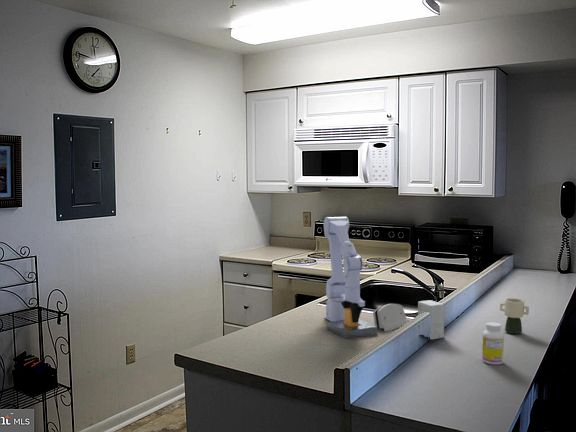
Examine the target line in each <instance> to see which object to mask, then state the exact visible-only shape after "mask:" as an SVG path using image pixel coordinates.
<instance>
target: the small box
mask: <svg viewBox="0 0 576 432" xmlns="http://www.w3.org/2000/svg"><path fill="white" fill-rule="evenodd" d="M424 312H429V313H431V317H432V318H431V333H430V339H429V340H436V339H442V338H444V336H445V334H444V333H445V304H444V303H441V302H437V301H434V300H432V299H431V300H429V299H428V300H420V301H418V302H417V316H418V315H420V314H422V313H424Z"/></svg>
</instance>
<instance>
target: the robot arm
mask: <svg viewBox="0 0 576 432" xmlns="http://www.w3.org/2000/svg"><path fill="white" fill-rule="evenodd" d="M349 228H350V219H349V218H348V217H347V216H333V217H332V216H325V218H324V221H323V232H324V233H323V234H324V237H325V238H327V239H328V244H329V245H328V246H329V256H330V268H331V277H330V278H329V279H328V280H326V284H325V285H326V287H325V295H326V297H327V298H328V299H327V301H326V303H325V304H326V305H325V316H324V319H325V320H328V321H329V322H332V321H340V320H344V308H350V309H351V312H352V321H353V323H355V322H358V320H359V319H360V316H361V313H362V311H363V310H364V308H365V307H366V301H365V300H363V299H362V298H361V295H360V294H361V271H362V269H363V264H364V262H363V258H362V256H361V255H360V254H358V253H357V250H356V248H355V245H354V242H351V241H350V238H349V233H348V232H349Z"/></svg>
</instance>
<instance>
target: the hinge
mask: <svg viewBox="0 0 576 432" xmlns="http://www.w3.org/2000/svg"><path fill="white" fill-rule="evenodd" d="M372 312H373V313H372V316H373V322H374V325H375V326H377V330H379V329H383V331H384V332H389V331H392V330H395V329H398V328H402V327H401V326H403V325H404V324H406V323H407V322H410V320H409V318H407V315H406V313H405V309H404V308H403V305H401V304H399V303H388V304H384V305H382V306H379V307H377V308H376V309H375V310H374V311H372ZM403 327H404V326H403Z"/></svg>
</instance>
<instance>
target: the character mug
mask: <svg viewBox="0 0 576 432" xmlns="http://www.w3.org/2000/svg"><path fill="white" fill-rule="evenodd" d="M503 306H504V308H503ZM499 310H500V311H501V312H504V315H505V316H506V321H505V326H504V331H505V332H507V333H510V334H520V333H522V332H523V327H522V320H521V318H523V317H524V315H527V316H528V315H529V313H530V307H529V306H527V305H525V300H523V299H521V298H516V297H515V298H514V297H513V298H511V297H509V298H504V302H500V304H499Z"/></svg>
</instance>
